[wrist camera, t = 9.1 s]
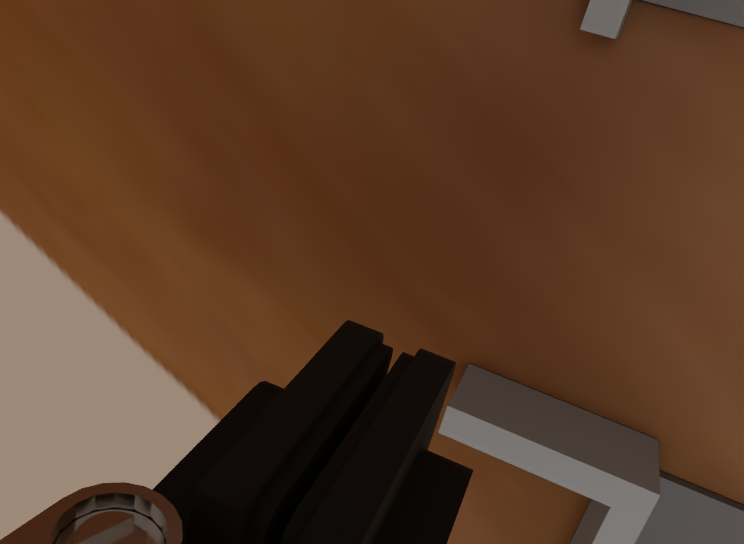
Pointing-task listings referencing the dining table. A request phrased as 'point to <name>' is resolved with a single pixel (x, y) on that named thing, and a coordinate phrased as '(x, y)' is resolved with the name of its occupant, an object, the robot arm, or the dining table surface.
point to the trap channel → (596, 417)
